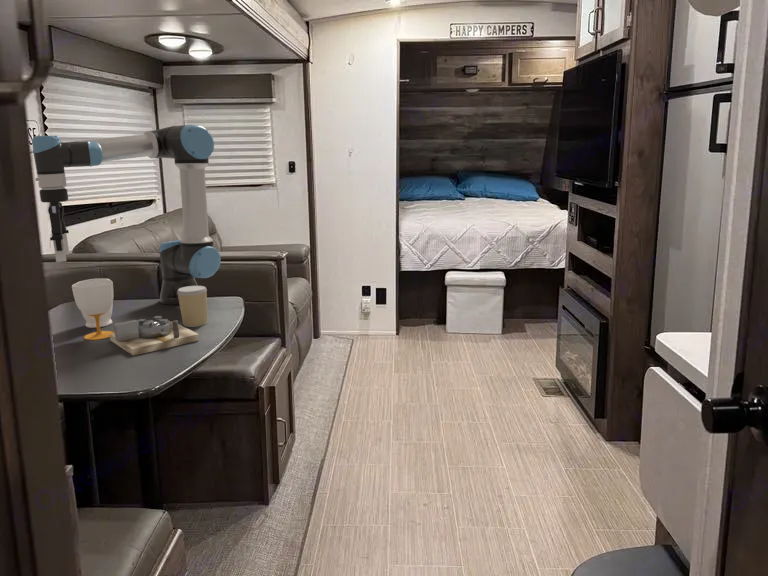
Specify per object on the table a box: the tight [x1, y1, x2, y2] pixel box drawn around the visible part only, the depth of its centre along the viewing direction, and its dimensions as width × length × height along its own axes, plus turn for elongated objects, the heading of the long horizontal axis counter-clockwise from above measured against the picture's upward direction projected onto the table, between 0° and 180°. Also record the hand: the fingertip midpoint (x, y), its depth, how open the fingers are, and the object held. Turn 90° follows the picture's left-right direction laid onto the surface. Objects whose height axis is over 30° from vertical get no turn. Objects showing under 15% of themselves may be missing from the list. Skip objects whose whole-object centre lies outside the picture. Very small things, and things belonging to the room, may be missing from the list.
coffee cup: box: [177, 285, 208, 328], centre depth 215 cm, size 9×9×12 cm
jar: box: [76, 277, 114, 329], centre depth 217 cm, size 11×10×15 cm
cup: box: [71, 279, 115, 341], centre depth 204 cm, size 12×12×17 cm
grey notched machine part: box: [113, 315, 171, 342], centre depth 196 cm, size 16×10×5 cm, turn 129°
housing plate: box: [109, 320, 200, 357], centre depth 198 cm, size 20×20×7 cm
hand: (63, 258), depth 200 cm, fingers open, 13 cm apart
